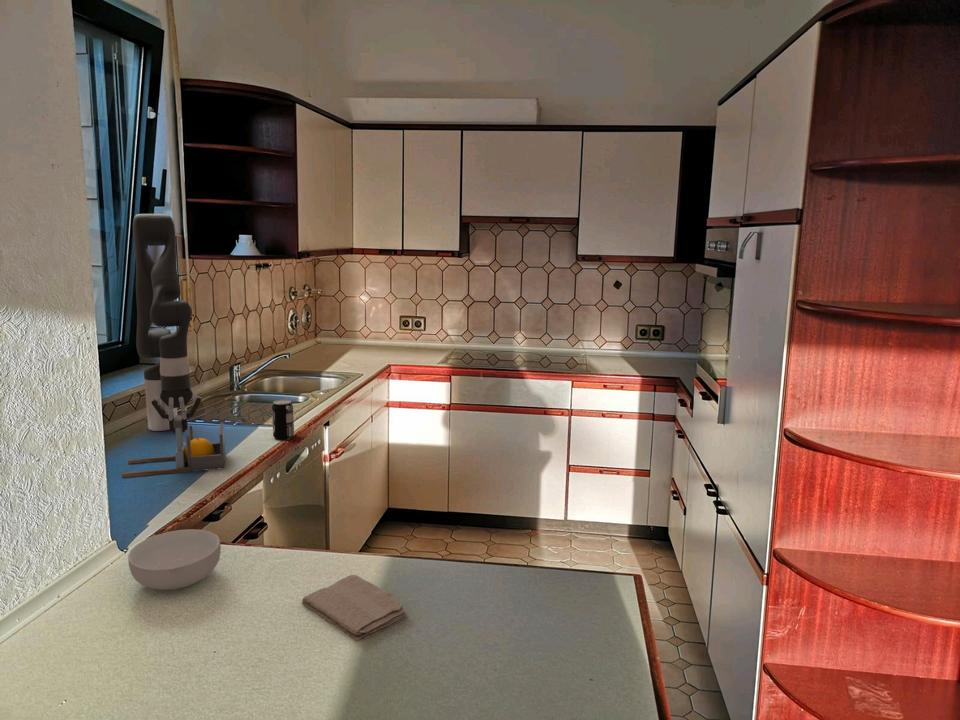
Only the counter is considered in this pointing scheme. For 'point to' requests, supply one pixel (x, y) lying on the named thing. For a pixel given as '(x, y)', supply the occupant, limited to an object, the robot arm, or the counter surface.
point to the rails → (153, 472)
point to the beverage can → (283, 419)
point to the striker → (179, 442)
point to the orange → (199, 448)
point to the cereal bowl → (174, 558)
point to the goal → (209, 460)
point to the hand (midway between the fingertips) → (178, 431)
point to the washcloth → (356, 607)
